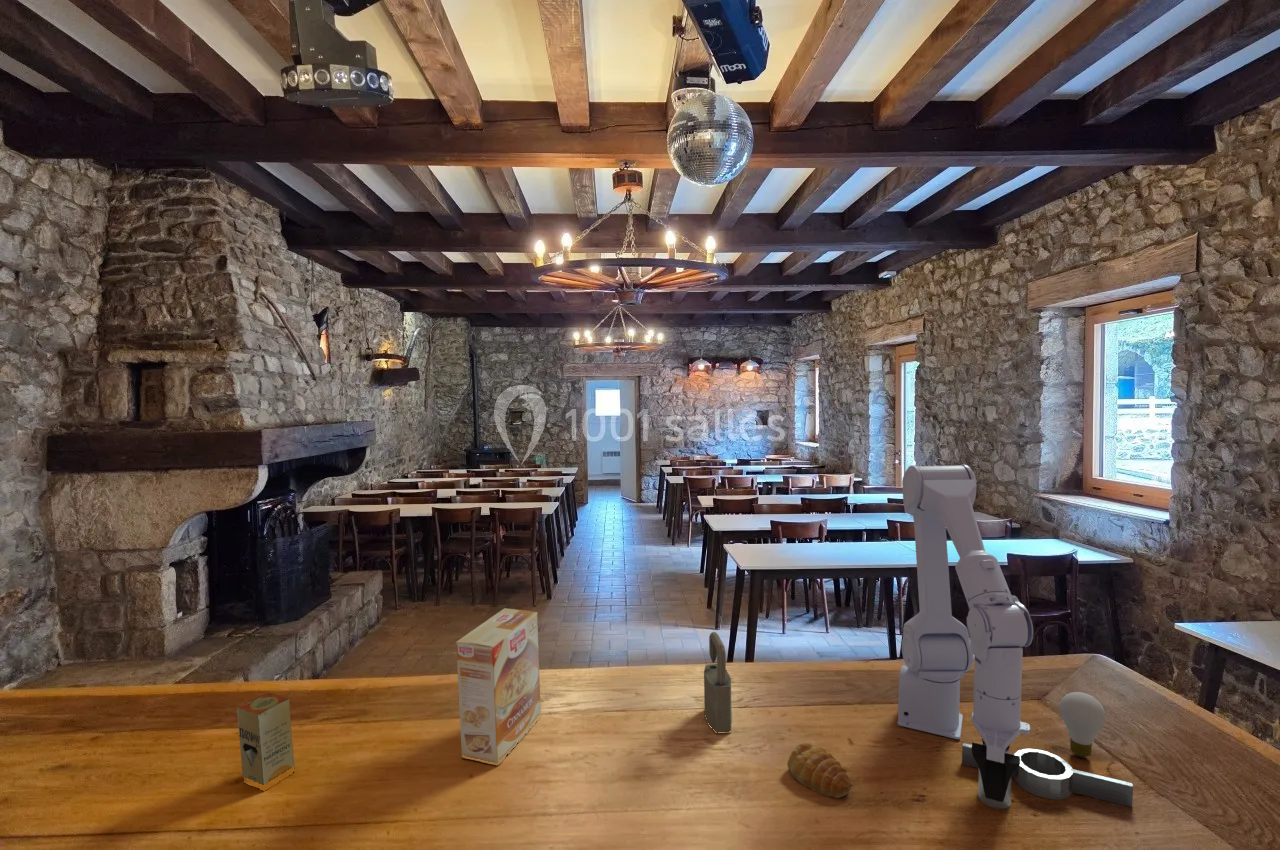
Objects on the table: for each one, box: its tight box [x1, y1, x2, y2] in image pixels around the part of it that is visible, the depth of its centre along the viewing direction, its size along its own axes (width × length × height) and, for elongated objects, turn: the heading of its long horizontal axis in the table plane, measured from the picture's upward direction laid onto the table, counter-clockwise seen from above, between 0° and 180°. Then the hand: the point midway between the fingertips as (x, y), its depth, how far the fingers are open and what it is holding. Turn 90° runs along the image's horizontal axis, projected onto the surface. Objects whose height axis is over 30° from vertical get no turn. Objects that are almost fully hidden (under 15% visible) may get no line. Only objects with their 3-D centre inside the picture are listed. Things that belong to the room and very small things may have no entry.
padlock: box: [703, 631, 733, 733], centre depth 111 cm, size 4×8×15 cm, turn 6°
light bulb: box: [1058, 691, 1107, 759], centre depth 99 cm, size 6×6×10 cm
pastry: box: [786, 742, 852, 799], centre depth 95 cm, size 9×7×4 cm
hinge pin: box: [977, 743, 1013, 810], centre depth 90 cm, size 4×4×7 cm
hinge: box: [961, 742, 1134, 808], centre depth 93 cm, size 21×7×3 cm, turn 60°
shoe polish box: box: [236, 692, 295, 785], centre depth 98 cm, size 5×5×12 cm
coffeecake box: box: [455, 607, 542, 763], centre depth 107 cm, size 15×7×20 cm, turn 161°
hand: (994, 782), depth 90 cm, fingers open, 7 cm apart
